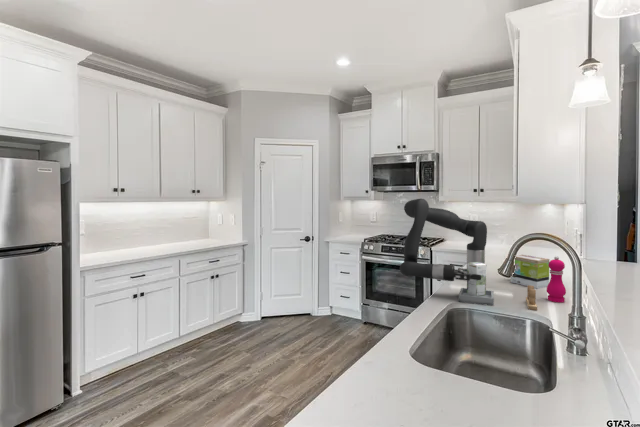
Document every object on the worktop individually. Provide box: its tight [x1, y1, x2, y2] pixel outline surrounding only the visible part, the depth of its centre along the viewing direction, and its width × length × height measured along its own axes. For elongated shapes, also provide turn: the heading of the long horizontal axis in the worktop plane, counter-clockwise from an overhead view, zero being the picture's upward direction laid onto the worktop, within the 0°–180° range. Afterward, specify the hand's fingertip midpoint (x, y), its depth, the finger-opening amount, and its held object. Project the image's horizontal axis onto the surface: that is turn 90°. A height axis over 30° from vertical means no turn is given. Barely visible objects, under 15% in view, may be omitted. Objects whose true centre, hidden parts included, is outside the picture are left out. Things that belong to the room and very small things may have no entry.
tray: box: [458, 287, 495, 306], centre depth 160 cm, size 14×14×3 cm
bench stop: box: [525, 285, 538, 311], centre depth 150 cm, size 14×3×8 cm, turn 154°
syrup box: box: [466, 262, 487, 296], centre depth 159 cm, size 6×6×14 cm
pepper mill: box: [546, 255, 567, 303], centre depth 156 cm, size 7×7×20 cm
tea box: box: [510, 254, 550, 290], centre depth 185 cm, size 15×10×15 cm, turn 25°
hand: (481, 275), depth 159 cm, fingers closed on syrup box, 7 cm apart
